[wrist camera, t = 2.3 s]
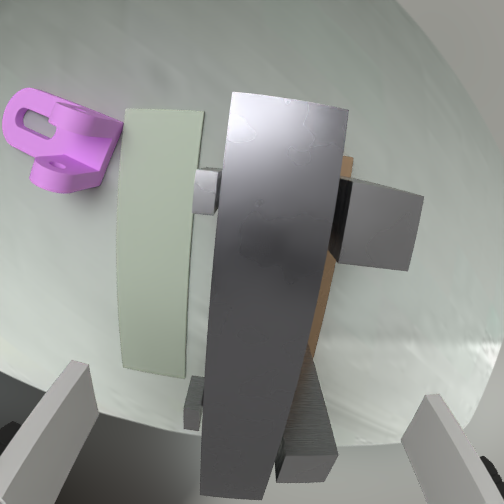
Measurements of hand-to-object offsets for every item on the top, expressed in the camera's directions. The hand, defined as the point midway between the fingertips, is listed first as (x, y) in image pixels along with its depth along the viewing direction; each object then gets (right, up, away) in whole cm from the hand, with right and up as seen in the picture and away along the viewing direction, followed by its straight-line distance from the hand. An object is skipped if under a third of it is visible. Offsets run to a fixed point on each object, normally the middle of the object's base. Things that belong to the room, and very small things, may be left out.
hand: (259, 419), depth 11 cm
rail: (0, +2, +8) cm, 8 cm away
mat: (-9, +6, +15) cm, 19 cm away
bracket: (-17, +17, +13) cm, 27 cm away
